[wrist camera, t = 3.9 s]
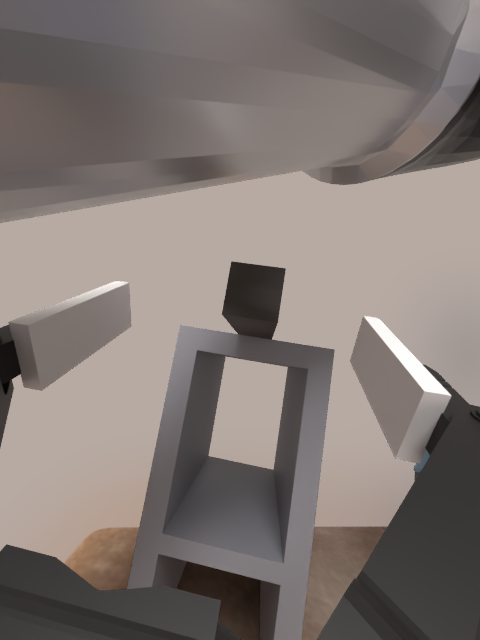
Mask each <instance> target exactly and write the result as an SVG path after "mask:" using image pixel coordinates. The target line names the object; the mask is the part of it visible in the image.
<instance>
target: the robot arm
mask: <svg viewBox="0 0 480 640" xmlns="http://www.w3.org/2000/svg"><path fill="white" fill-rule="evenodd" d="M477 159H480V0H0V223H3V222H9V221H15V220H20V219H26V218H32V217H38V216H44V215H49V214H55V213H60V212H67V211H72V210H78V209H83V208H90V207H95V206H101V205H107V204H113V203H119V202H124V201H130V200H135V199H141V198H147V197H153V196H159V195H165V194H170V193H176V192H182V191H188V190H193V189H199V188H205V187H211V186H217V185H222V184H228V183H234V182H239V181H246V180H251V179H257V178H263V177H268V176H274V175H280V174H286V173H292V172H298V171H303V172H305V173H306V174H308V175H309V176H311V177H313V178H315V179H317V180H319V181H322V182H326V183H330V184H340V185H347V184H357V183H362V182H366V181H370V180H373V179H378V178H383V177H388V176H393V175H397V174H403V173H409V172H414V171H420V170H426V169H432V168H438V167H444V166H449V165H454V164H459V163H464V162H468V161H473V160H477ZM130 327H131V310H130V293H129V283H128V282H121V281H115V282H112V283H110V284H107V285H104V286H102V287H99V288H97V289H94V290H92V291H89V292H86V293H83V294H81V295H79V296H76V297H73V298H70V299H68V300H65V301H62V302H60V303H57V304H55V305H52V306H49V307H47V308H44V309H42V310H39V311H36V312H34V313H31V314H28V315H26V316H23V317H20V318H18V319H15V320H13V321H10V322H9V325H7V326H4V327H2V328H0V446H1V442H2V438H3V433H4V429H5V424H6V420H7V415H8V411H9V407H10V402H11V398H12V394H13V389H14V388H13V383H12V379H13V378H15V377H16V376H18V375H20V374H21V377H22V381H23V385H24V387H26V388H30V389H36V390H41V391H42V390H43V389H45V388H46V387H48V386H49V385H50V384H52V383H53V382H54V381H56V380H57V379H59V378H60V377H61V376H63V375H64V374H66V373H67V372H68V371H70V370H71V369H73V368H74V367H75V366H77V365H78V364H79V363H81V362H82V361H84V360H85V359H87V358H88V357H89V356H91V355H92V354H93V353H95V352H96V351H97V350H99V349H100V348H102V347H103V346H105V345H106V344H107V343H109V342H110V341H112V340H113V339H114V338H116V337H117V336H119V335H120V334H121V333H123V332H124V331H126V330H127V329H128V328H130ZM350 362H351V364H352V366H353V369H354V371H355V373H356V375H357V377H358V379H359V382H360V384H361V386H362V388H363V390H364V392H365V394H366V396H367V399H368V401H369V403H370V405H371V407H372V409H373V412H374V414H375V416H376V418H377V420H378V422H379V425H380V427H381V429H382V431H383V433H384V435H385V437H386V440H387V442H388V444H389V446H390V448H391V450H392V452H393V455H394V457H395V459H400V460H404V461H410V462H415V463H416V465H415V466H414V471H415V482H414V484H413V486H412V487H411V489H410V490H409V492H408V494H407V495H406V497H405V499H404V500H403V502H402V504H401V505H400V507H399V509H398V511H397V512H396V514H395V516H394V517H393V519H392V521H391V522H390V524H389V526H388V527H387V529H386V531H385V532H384V534H383V536H382V537H381V539H380V541H379V542H378V544H377V546H376V547H375V549H374V551H373V552H372V554H371V556H370V557H369V559H368V561H367V562H366V564H365V566H364V568H363V569H362V571H361V572H360V574H359V576H358V577H357V578H356V579H354V580H353V582H352V583H351V584H350V586H349V588H348V589H347V591H346V592H345V594H344V595H343V597H342V599H341V600H340V602H339V604H338V605H337V607H336V609H335V610H334V612H333V614H332V615H331V617H330V619H329V620H328V622H327V624H326V625H325V627H324V628H323V630H322V632H321V633H320V635H319V637H318V638H317V640H480V407H478V406H474V405H469V404H468V403H467V402H466V401H465V400H464V399H463V398H462V397H461V396H460V395H459V394H458V393H457V392H456V391H455V390H454V389H452V387H451V386H450V385H449V384H448V383H447V382H445V380H444V379H443V378H442V376H441V375H439V373H437V372H436V371H434V370H433V369H431V368H429V367H428V366H426V365H422V364H421V363H420V362H419V361H418V360H417V359H416V358H415V356H414V355H413V354H412V353H411V352H410V351H409V350H408V349H407V348H406V347H405V346H404V345H403V344H402V343H401V342H400V341H399V339H397V337H396V336H395V335H394V334H393V333H392V332H391V331H390V330H389V329H388V328H387V327H386V326H385V325H384V324H383V323H382V321H381V320H380V319H379V318H374V317H367V316H363V319H362V322H361V326H360V329H359V332H358V336H357V339H356V343H355V346H354V350H353V353H352V356H351V360H350ZM220 605H221V600H218V599H214V598H210V597H206V596H202V595H198V594H195V593H191V592H187V591H183V590H179V589H175V588H171V587H168V586H157V587H145V588H134V589H122V590H110V591H101V590H98V589H96V588H94V587H93V586H92V585H90V584H89V583H88V582H86V581H85V580H84V579H83V578H81V577H80V576H79V575H78V574H76V573H75V572H74V571H72V570H71V569H70V568H69V567H67V566H66V565H65V564H64V563H62V562H61V561H60V560H58V559H57V558H56V557H52V556H49V555H45V554H41V553H37V552H33V551H29V550H26V549H22V548H18V547H14V546H10V545H6V546H5V547H4V548H3V549H2V550H1V551H0V640H241V639H240V638H239V637H238V636H236V635H235V634H234V633H233V632H232V631H231V630H230V629H229V628H227V627H226V626H225V625H223V624H222V623H221V622H219V621H218V619H219V612H220Z"/></svg>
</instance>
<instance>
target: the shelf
mask: <svg viewBox="0 0 480 640" xmlns="http://www.w3.org/2000/svg"><path fill="white" fill-rule="evenodd" d="M225 356H227V357H233V358H238V359H244V360H250V361H256V362H262V363H269V364H274V365H280V366H287V367H288V371H287V378H286V385H285V392H284V399H283V407H282V414H281V421H280V428H279V435H278V443H277V450H276V457H275V464H274V470H271V469H267V468H262V467H257V466H252V465H247V464H243V463H238V462H233V461H228V460H224V459H219V458H214V457H209V456H208V454H209V448H210V443H211V437H212V431H213V425H214V419H215V414H216V408H217V402H218V397H219V391H220V385H221V379H222V373H223V368H224V362H225ZM333 358H334V350H333V349H326V348H321V347H313V346H308V345H301V344H295V343H289V342H283V341H276V340H270V339H264V338H257V337H251V336H245V335H239V334H232V333H225V332H220V331H213V330H207V329H200V328H194V327H188V326H182V325H180V329H179V334H178V339H177V344H176V349H175V354H174V358H173V364H172V369H171V374H170V379H169V383H168V388H167V393H166V398H165V403H164V408H163V413H162V418H161V423H160V428H159V433H158V438H157V443H156V448H155V453H154V458H153V463H152V467H151V473H150V477H149V482H148V488H147V492H146V497H145V502H144V507H143V512H142V517H141V522H140V527H139V532H138V536H137V541H136V546H135V551H134V556H133V561H132V566H131V571H130V576H129V581H128V586H127V589H134V588H145V587H157V586H168V587H171V588H175V589H177V587H178V584H179V581H180V579H181V576H182V574H183V571H184V568H185V566H186V563H187V561H188V562H192V563H196V564H200V565H204V566H208V567H212V568H216V569H219V570H223V571H227V572H231V573H235V574H239V575H243V576H247V577H251V578H254V579H258V580H260V640H301V638H302V629H303V621H304V612H305V603H306V594H307V586H308V577H309V568H310V559H311V551H312V542H313V533H314V524H315V515H316V506H317V498H318V489H319V480H320V472H321V462H322V454H323V445H324V437H325V428H326V419H327V410H328V401H329V393H330V384H331V375H332V366H333Z"/></svg>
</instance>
